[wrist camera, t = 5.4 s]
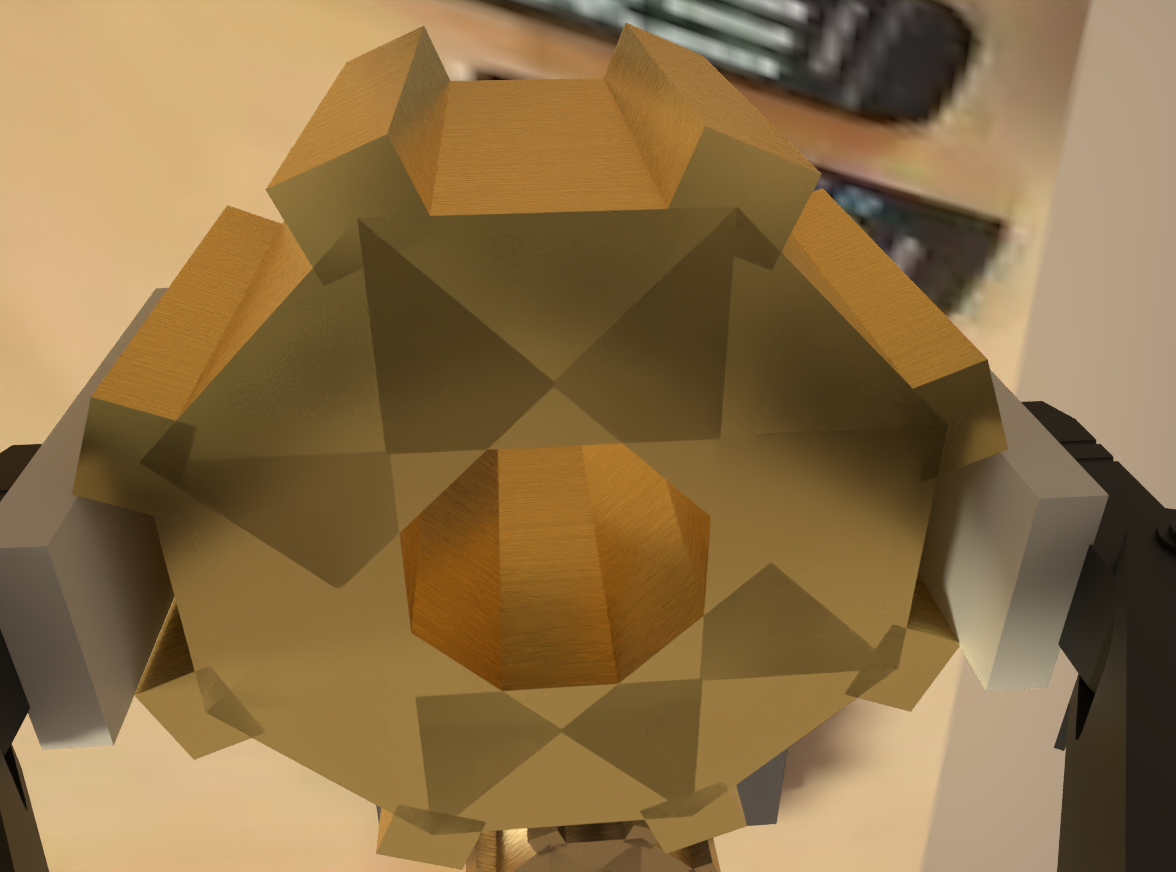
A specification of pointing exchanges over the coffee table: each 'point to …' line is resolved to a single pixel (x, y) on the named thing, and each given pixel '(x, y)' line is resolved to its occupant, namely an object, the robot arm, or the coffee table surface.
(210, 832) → the coffee table surface
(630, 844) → the seated gear
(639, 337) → the gear
